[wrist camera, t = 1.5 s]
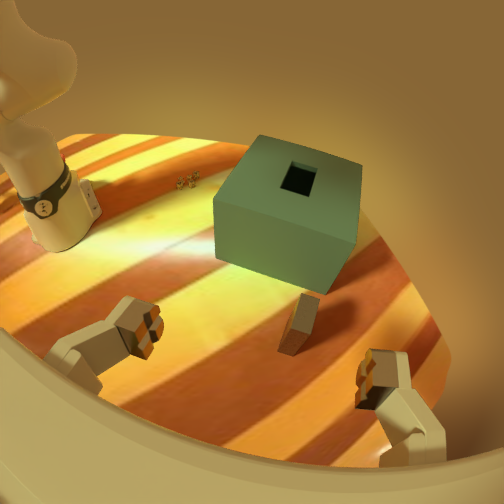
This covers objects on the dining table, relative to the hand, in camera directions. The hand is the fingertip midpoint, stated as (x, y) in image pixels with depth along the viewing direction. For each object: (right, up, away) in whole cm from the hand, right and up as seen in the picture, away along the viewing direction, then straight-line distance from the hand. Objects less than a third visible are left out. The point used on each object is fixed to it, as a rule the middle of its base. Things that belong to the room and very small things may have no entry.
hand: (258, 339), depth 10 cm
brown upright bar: (+5, -10, +30) cm, 33 cm away
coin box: (+6, +6, +43) cm, 44 cm away
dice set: (-15, +18, +51) cm, 56 cm away
